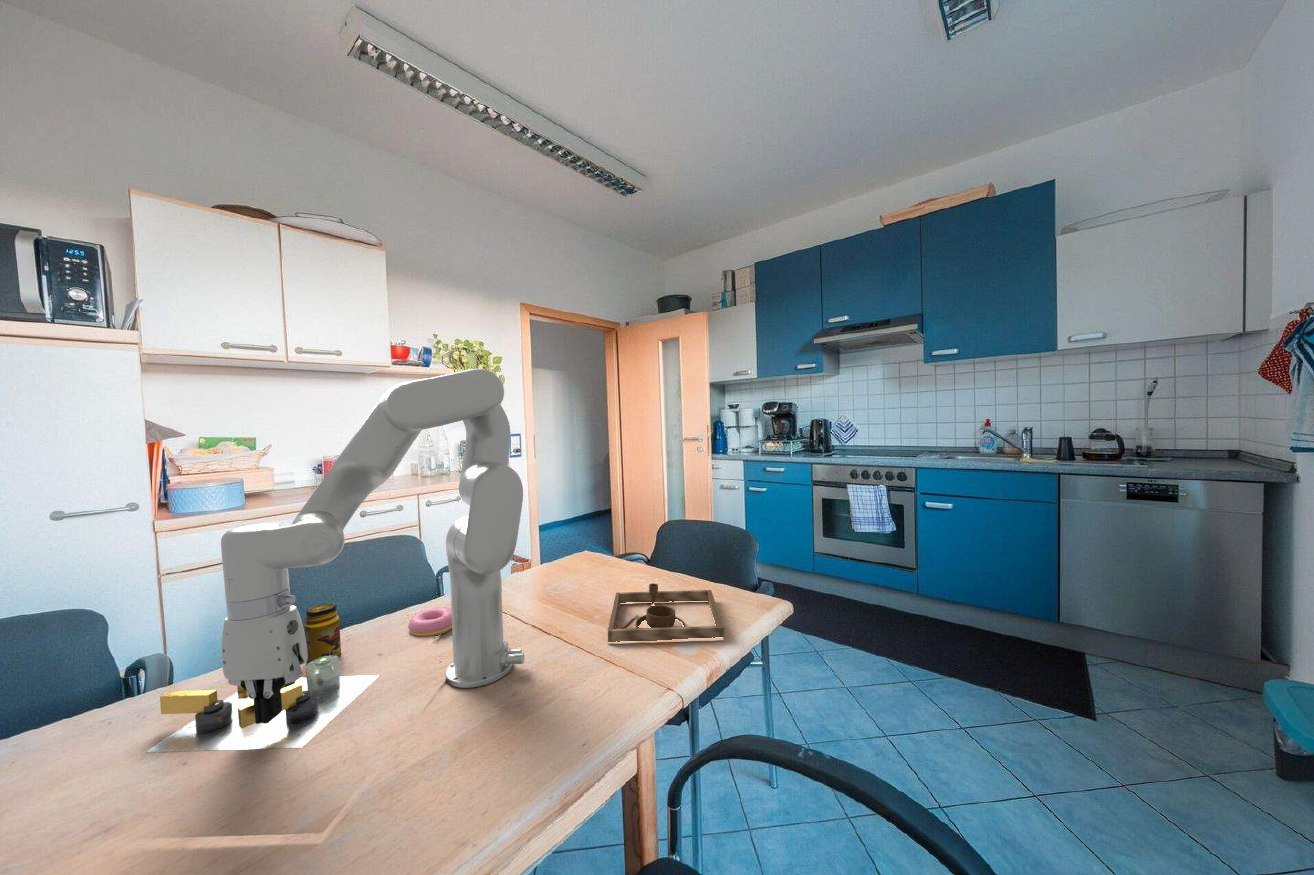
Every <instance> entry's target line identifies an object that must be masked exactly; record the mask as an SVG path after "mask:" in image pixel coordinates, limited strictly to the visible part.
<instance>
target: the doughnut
mask: <svg viewBox="0 0 1314 875" xmlns="http://www.w3.org/2000/svg"><path fill="white" fill-rule="evenodd" d="M407 628H408V631H409V633H410V634H411V635H414V636H418V637H426V636H433V635H434V637H436V636H437V637H438V636H440V635H443V634H445V633H448V632H449V631H452V614H451V607H450V608H449V607H432V608H429V609H425V610H421V611H419V613H417V614H415V615H413V616H412V617H411V619H409V623H408V624H407Z"/></svg>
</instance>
